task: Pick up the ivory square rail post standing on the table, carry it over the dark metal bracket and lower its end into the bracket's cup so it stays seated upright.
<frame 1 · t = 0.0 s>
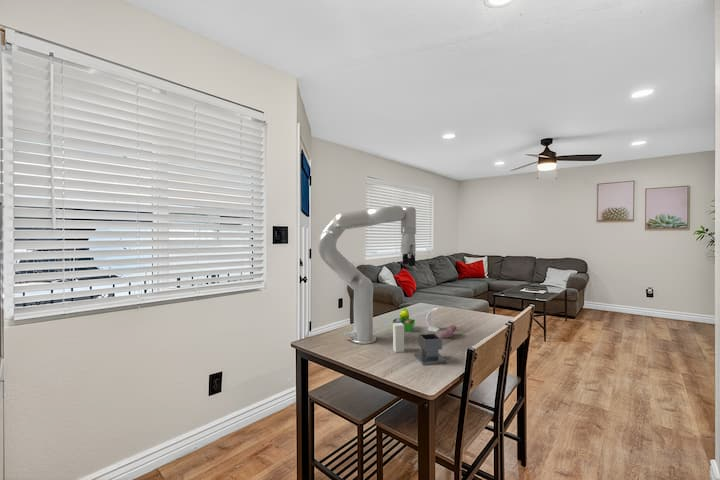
hand: (408, 265, 159), 37 cm above the table, tool pointing down, fingers open, 9 cm apart
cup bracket: (429, 359, 131), on the table
fruit basket: (404, 329, 172), on the table
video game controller: (449, 337, 159), on the table
rail post: (398, 350, 141), on the table
headphone stand: (432, 330, 170), on the table
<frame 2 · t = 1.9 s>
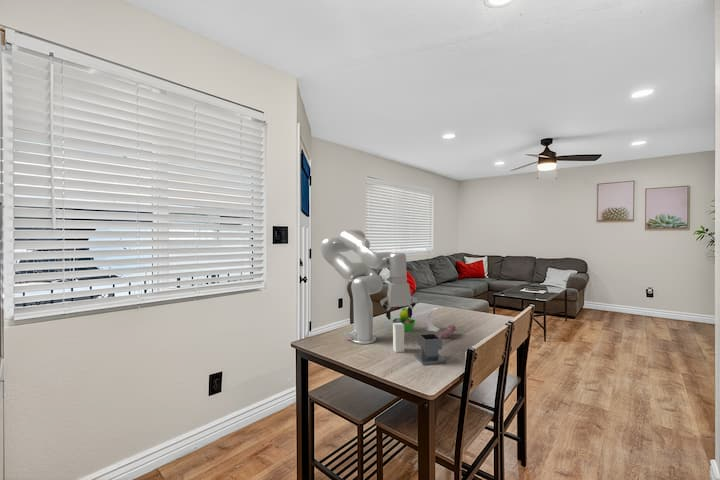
hand: (399, 318, 140), 15 cm above the table, tool pointing down, fingers open, 9 cm apart
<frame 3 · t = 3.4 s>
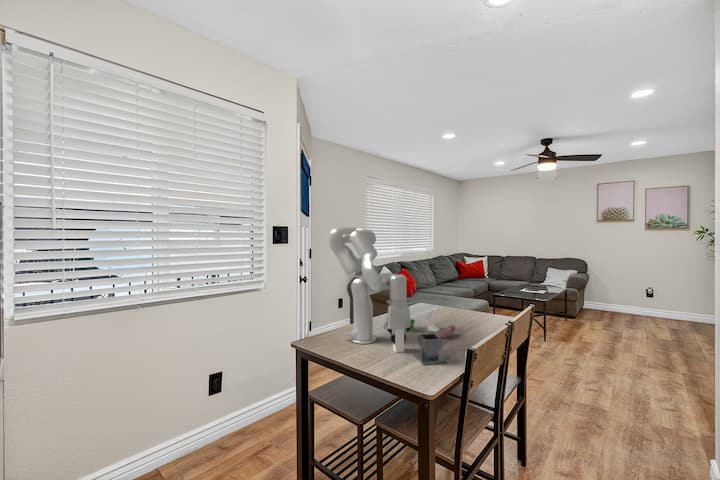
hand: (398, 342, 141), 4 cm above the table, tool pointing down, fingers closed on rail post, 4 cm apart
rail post: (398, 350, 141), on the table, touching gripper
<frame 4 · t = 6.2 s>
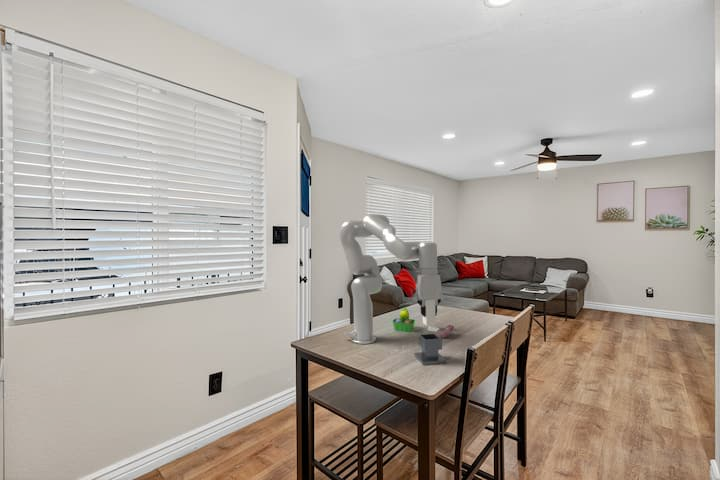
hand: (429, 314, 131), 19 cm above the table, tool pointing down, fingers closed on rail post, 4 cm apart
rail post: (429, 323, 131), point 15 cm above the table, touching gripper
when the fingers open (11 cm above the table, at t = 9.0 s): rail post stays where it is, resting on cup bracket.
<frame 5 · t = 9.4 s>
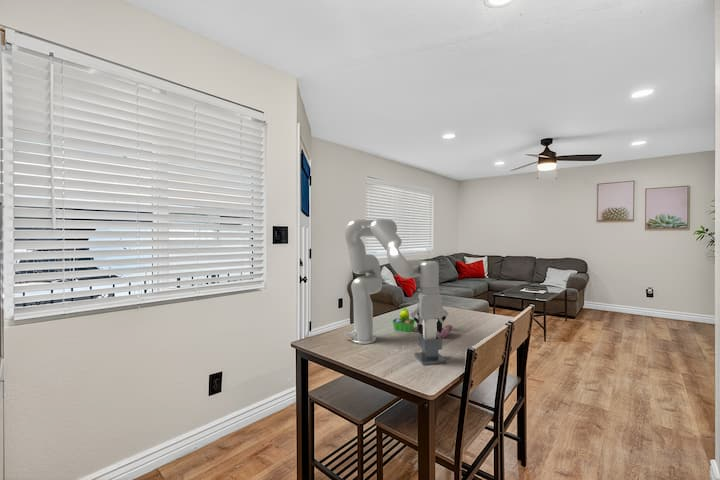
hand: (429, 332, 131), 11 cm above the table, tool pointing down, fingers open, 7 cm apart
rail post: (429, 344, 131), point 6 cm above the table, touching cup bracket
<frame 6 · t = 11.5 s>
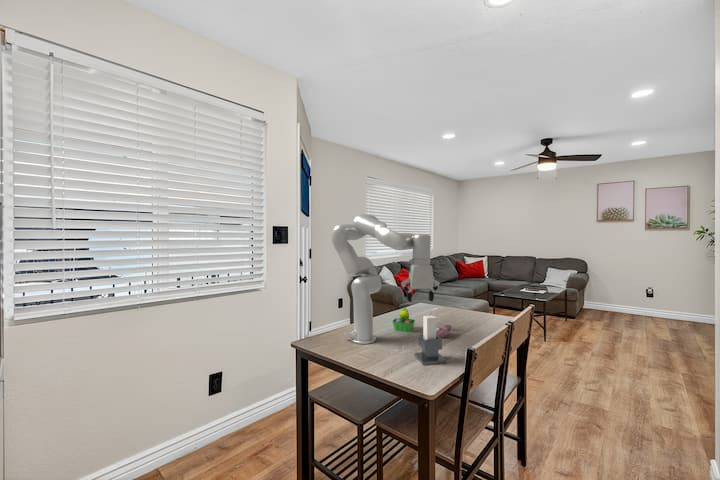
hand: (420, 301, 137), 23 cm above the table, tool pointing down, fingers open, 9 cm apart
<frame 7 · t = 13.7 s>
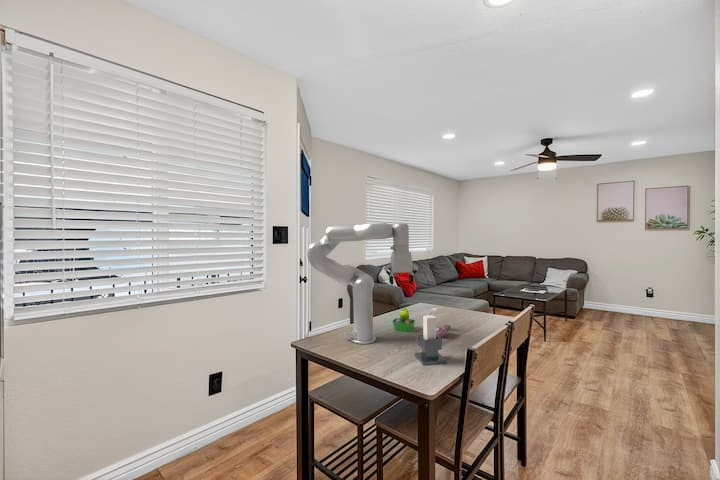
hand: (401, 283, 152), 28 cm above the table, tool pointing down, fingers open, 9 cm apart
at the end: rail post 0.1 cm off-centre on the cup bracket, point 6.0 cm above the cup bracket's base; rail post tilted 0°; the gripper is holding nothing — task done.
